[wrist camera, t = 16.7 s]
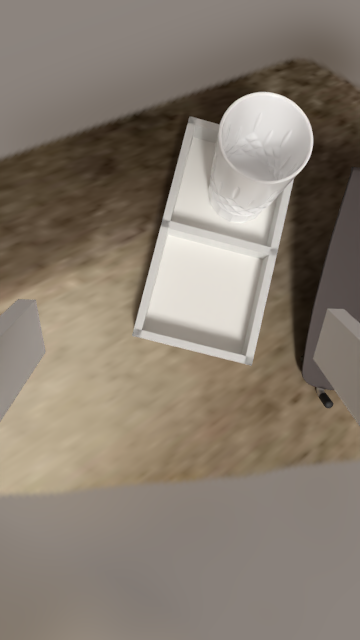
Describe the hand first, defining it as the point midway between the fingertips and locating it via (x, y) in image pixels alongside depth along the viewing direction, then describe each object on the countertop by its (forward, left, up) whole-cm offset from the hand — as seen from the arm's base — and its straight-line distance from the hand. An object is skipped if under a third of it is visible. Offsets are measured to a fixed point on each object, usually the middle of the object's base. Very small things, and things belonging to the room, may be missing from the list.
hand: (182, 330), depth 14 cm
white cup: (+3, +18, -20) cm, 27 cm away
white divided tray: (+2, +11, -21) cm, 24 cm away
